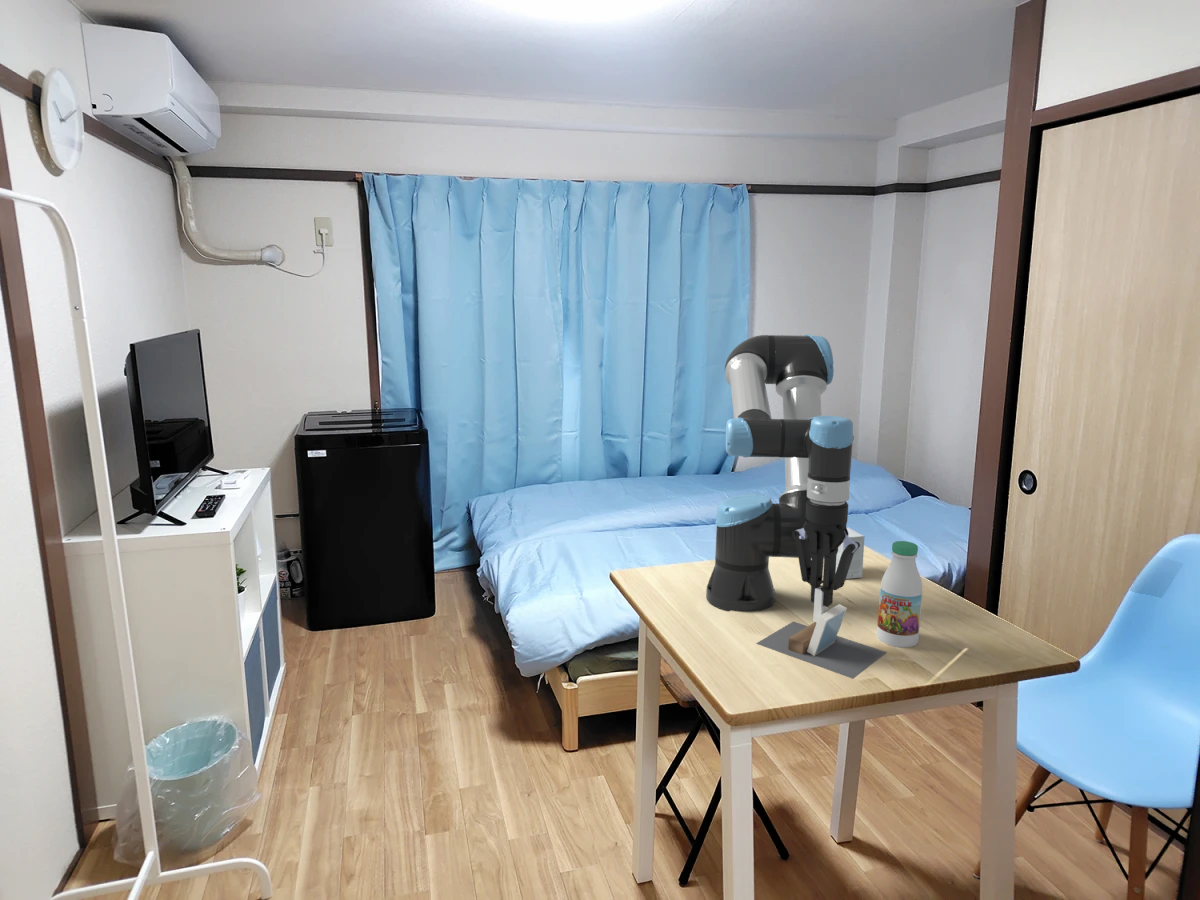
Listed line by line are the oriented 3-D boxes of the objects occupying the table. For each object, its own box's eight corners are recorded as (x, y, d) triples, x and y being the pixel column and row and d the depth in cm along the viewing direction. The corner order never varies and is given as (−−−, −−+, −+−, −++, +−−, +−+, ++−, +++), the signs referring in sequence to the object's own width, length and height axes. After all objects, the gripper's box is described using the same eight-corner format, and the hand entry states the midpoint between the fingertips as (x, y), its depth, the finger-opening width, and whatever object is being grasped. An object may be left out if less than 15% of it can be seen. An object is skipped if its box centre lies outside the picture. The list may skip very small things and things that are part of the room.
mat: (756, 645, 152) (756, 643, 152) (793, 623, 162) (793, 621, 161) (852, 680, 138) (852, 678, 138) (886, 654, 148) (886, 652, 148)
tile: (806, 651, 147) (818, 616, 144) (827, 637, 153) (839, 603, 150) (814, 656, 146) (826, 620, 143) (834, 642, 152) (846, 608, 149)
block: (788, 649, 149) (788, 637, 148) (814, 633, 156) (814, 621, 156) (802, 654, 147) (803, 642, 146) (828, 637, 154) (828, 626, 153)
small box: (862, 578, 186) (865, 536, 184) (841, 580, 185) (843, 537, 183) (845, 566, 194) (848, 526, 192) (824, 568, 193) (827, 527, 191)
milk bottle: (877, 629, 159) (884, 535, 154) (918, 635, 156) (927, 540, 151) (875, 645, 152) (882, 547, 147) (917, 652, 149) (926, 552, 144)
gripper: (785, 497, 146) (779, 616, 150) (850, 511, 137) (842, 636, 141) (806, 490, 151) (800, 605, 156) (870, 503, 142) (861, 624, 147)
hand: (820, 620), depth 148 cm, fingers closed
